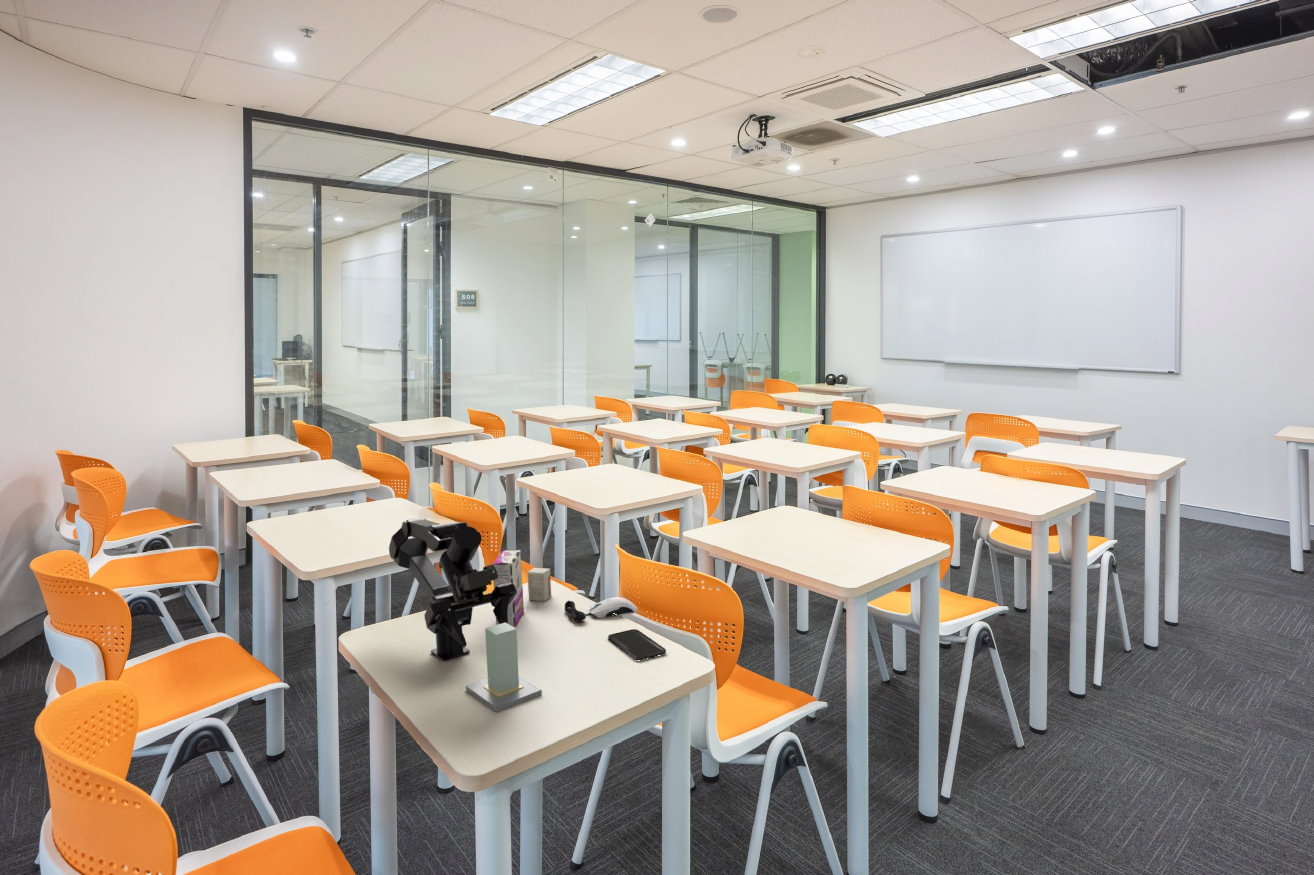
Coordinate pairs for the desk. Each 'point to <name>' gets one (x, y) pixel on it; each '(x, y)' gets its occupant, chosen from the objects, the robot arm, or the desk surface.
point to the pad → (503, 694)
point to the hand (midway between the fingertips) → (486, 639)
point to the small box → (539, 584)
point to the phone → (636, 644)
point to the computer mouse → (602, 609)
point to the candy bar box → (511, 572)
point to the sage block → (502, 657)
